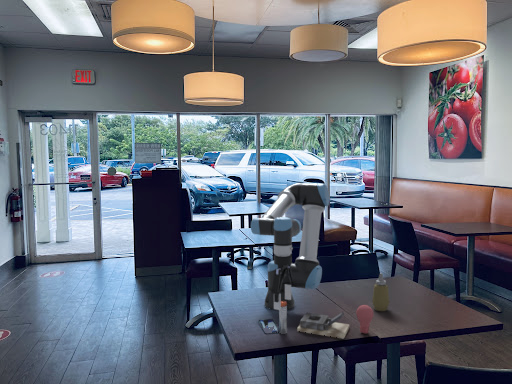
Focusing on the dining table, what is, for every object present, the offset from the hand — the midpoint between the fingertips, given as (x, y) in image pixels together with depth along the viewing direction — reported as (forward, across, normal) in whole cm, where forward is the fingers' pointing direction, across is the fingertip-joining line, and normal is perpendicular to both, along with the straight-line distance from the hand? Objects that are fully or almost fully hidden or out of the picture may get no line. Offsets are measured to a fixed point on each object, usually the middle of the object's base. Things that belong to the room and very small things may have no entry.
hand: (282, 304), depth 174 cm
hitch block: (+12, +11, -15) cm, 22 cm away
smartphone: (+13, +5, +8) cm, 16 cm away
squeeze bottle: (+12, +45, -35) cm, 58 cm away
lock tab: (+8, +10, -20) cm, 24 cm away
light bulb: (+13, +14, -32) cm, 37 cm away
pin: (+13, +1, 0) cm, 13 cm away
